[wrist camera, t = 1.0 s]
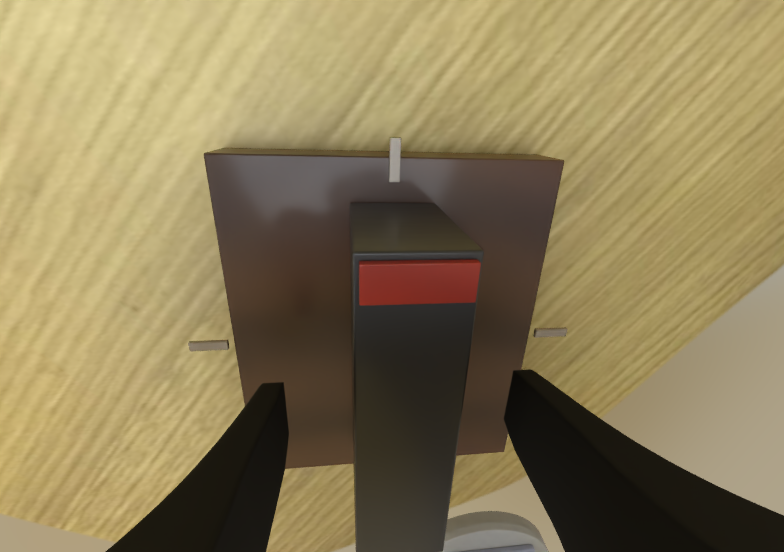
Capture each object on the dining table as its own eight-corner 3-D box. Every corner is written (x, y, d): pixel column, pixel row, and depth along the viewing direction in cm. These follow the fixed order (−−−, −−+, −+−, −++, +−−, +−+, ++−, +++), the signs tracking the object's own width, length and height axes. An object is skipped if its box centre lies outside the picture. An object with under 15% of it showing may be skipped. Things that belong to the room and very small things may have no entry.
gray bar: (417, 436, 17) (445, 560, 12) (353, 441, 17) (356, 569, 12) (436, 202, 13) (489, 254, 8) (349, 202, 12) (351, 255, 8)
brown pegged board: (516, 428, 21) (534, 461, 19) (233, 447, 19) (220, 486, 17) (579, 139, 15) (615, 143, 13) (171, 128, 13) (140, 130, 11)
